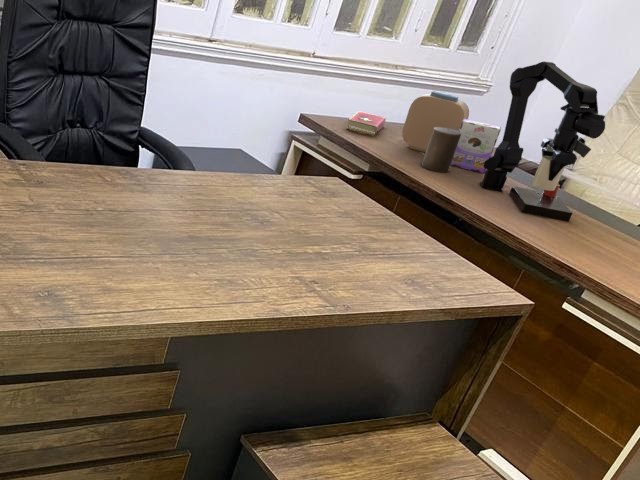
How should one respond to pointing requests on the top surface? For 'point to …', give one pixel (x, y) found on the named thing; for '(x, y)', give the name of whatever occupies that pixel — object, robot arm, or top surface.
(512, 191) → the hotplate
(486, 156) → the candy box
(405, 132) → the alarm clock
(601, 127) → the robot arm
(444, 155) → the pillar candle
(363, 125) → the hardcover book
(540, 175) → the cup
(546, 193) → the red cube
